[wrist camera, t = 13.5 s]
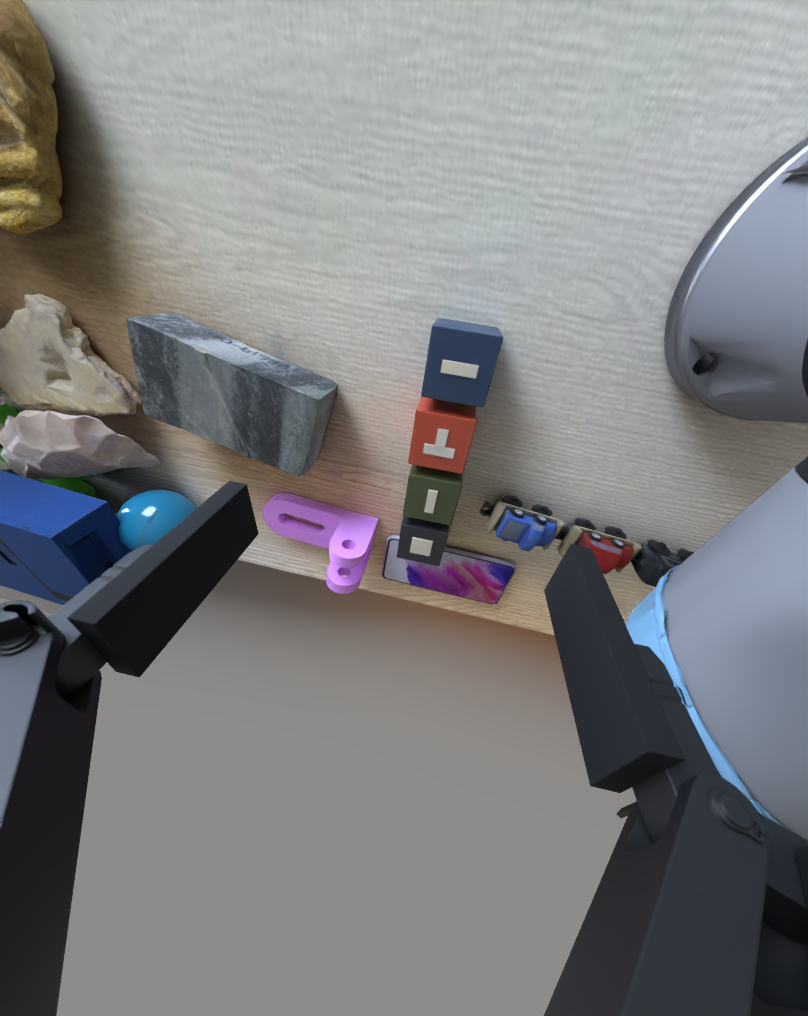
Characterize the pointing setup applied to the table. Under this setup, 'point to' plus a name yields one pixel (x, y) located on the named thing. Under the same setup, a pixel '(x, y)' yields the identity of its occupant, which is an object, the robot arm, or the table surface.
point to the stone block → (230, 391)
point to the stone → (58, 364)
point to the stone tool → (67, 446)
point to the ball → (151, 516)
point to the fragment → (2, 400)
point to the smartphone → (451, 573)
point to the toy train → (579, 539)
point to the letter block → (442, 434)
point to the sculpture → (27, 125)
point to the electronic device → (53, 541)
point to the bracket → (326, 535)
